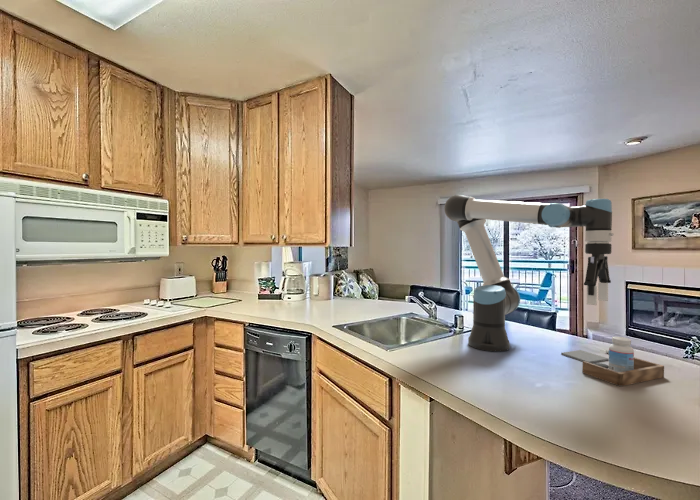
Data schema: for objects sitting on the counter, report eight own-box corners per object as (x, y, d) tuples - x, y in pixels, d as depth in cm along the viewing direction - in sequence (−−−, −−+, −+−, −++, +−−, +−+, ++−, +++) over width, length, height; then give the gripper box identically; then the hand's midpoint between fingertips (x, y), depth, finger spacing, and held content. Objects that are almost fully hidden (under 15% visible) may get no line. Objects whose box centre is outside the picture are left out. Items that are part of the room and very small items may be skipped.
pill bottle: (635, 379, 102) (636, 342, 102) (609, 375, 105) (610, 339, 105) (631, 373, 107) (632, 337, 107) (607, 369, 110) (608, 334, 110)
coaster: (588, 363, 115) (588, 361, 115) (561, 354, 125) (561, 352, 125) (608, 360, 119) (608, 358, 119) (580, 351, 128) (580, 349, 128)
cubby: (620, 386, 97) (620, 374, 97) (582, 372, 107) (582, 361, 107) (663, 377, 104) (664, 365, 104) (624, 365, 114) (624, 354, 114)
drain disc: (604, 368, 111) (604, 368, 111) (591, 364, 115) (591, 363, 115) (612, 367, 112) (612, 366, 112) (599, 363, 116) (599, 362, 116)
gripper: (600, 242, 110) (600, 308, 110) (620, 242, 126) (619, 300, 126) (574, 242, 116) (573, 305, 116) (595, 243, 132) (595, 297, 132)
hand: (597, 302), depth 121 cm, fingers open, 13 cm apart
